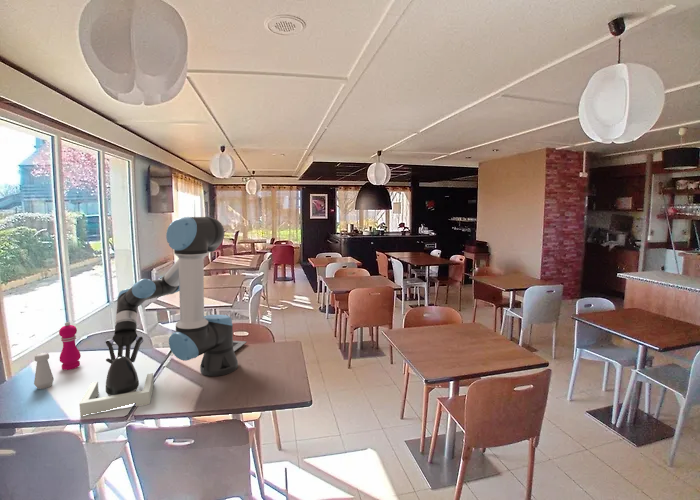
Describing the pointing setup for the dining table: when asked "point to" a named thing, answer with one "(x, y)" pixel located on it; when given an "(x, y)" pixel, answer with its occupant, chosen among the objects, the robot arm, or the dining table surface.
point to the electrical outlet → (237, 344)
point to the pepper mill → (69, 347)
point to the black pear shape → (121, 377)
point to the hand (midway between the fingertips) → (121, 380)
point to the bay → (115, 398)
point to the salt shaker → (43, 372)
